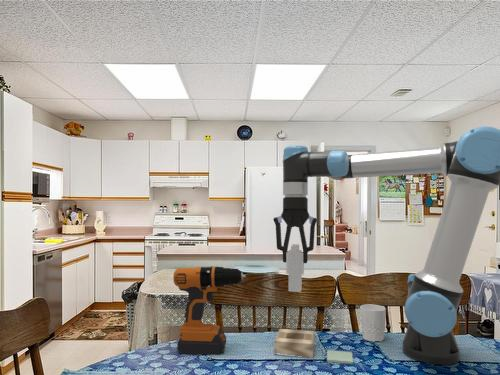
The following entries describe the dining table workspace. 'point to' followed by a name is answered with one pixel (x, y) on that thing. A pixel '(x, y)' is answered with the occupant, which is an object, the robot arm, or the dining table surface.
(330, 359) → the mat
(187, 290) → the power drill
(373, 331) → the white cup
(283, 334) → the socket block
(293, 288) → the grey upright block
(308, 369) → the dining table surface
